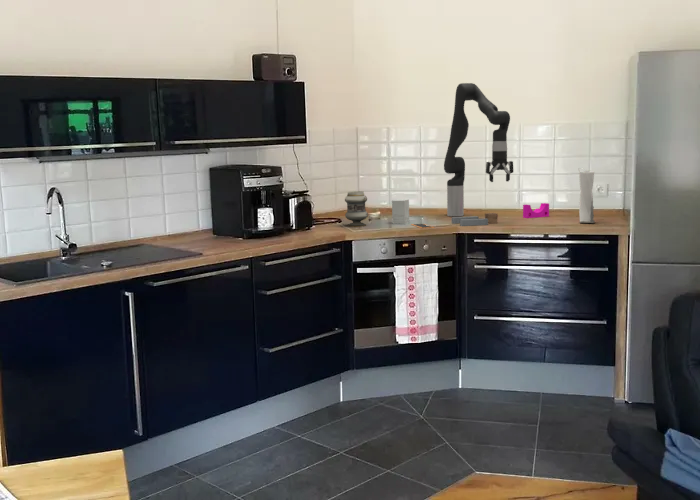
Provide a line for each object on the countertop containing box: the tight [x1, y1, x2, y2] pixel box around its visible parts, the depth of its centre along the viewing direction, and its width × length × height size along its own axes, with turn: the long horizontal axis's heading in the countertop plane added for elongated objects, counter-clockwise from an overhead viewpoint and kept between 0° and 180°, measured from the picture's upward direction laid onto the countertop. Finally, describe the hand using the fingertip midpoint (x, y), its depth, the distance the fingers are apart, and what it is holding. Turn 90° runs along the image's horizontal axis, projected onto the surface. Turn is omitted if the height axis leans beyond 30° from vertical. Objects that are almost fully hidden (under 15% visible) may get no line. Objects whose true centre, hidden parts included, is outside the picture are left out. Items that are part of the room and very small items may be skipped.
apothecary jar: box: [344, 190, 369, 228], centre depth 419 cm, size 12×12×18 cm
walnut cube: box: [484, 212, 498, 225], centre depth 419 cm, size 5×5×5 cm
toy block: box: [522, 202, 550, 219], centre depth 443 cm, size 15×6×8 cm, turn 116°
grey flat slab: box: [450, 215, 489, 227], centre depth 416 cm, size 16×14×3 cm
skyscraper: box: [578, 167, 596, 224], centre depth 411 cm, size 8×8×28 cm
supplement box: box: [391, 198, 410, 225], centre depth 427 cm, size 7×7×13 cm
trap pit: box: [410, 223, 436, 229], centre depth 411 cm, size 18×7×1 cm, turn 12°
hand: (499, 181), depth 415 cm, fingers open, 8 cm apart
